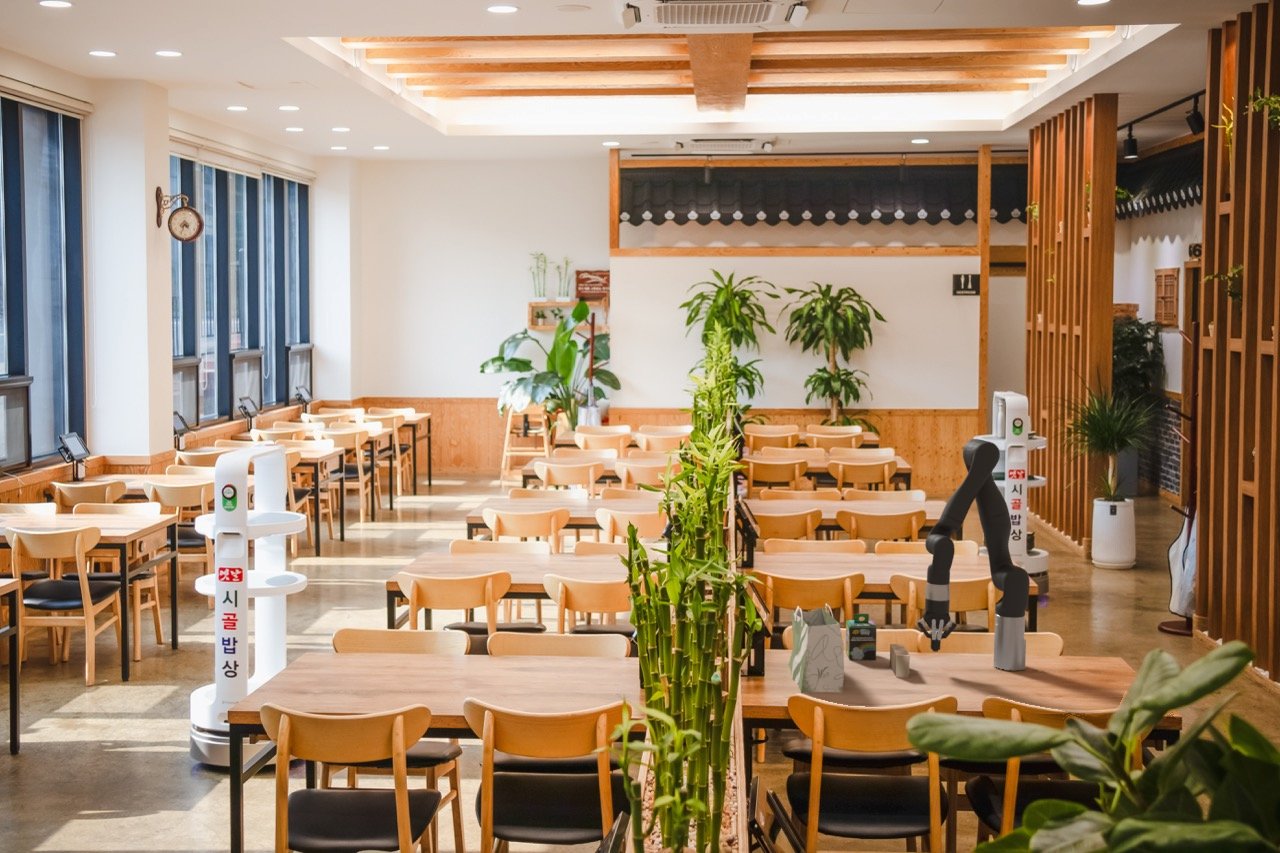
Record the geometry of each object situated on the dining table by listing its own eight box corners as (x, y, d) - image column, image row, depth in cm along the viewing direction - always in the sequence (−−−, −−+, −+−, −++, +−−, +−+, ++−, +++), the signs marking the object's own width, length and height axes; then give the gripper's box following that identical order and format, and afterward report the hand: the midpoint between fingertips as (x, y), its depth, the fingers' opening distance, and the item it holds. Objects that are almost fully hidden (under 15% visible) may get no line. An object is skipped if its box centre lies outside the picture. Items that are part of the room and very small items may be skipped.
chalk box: (872, 653, 435) (873, 609, 434) (876, 660, 426) (877, 616, 425) (844, 653, 435) (845, 609, 434) (848, 660, 426) (849, 615, 425)
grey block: (909, 677, 406) (902, 665, 420) (909, 655, 406) (902, 644, 419) (896, 677, 406) (889, 665, 420) (896, 655, 406) (890, 644, 420)
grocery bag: (784, 664, 421) (785, 593, 419) (827, 664, 421) (828, 593, 419) (798, 692, 389) (800, 616, 387) (845, 692, 389) (846, 616, 388)
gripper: (918, 599, 407) (916, 653, 408) (961, 600, 407) (958, 654, 408) (914, 594, 415) (912, 647, 416) (956, 595, 414) (953, 648, 415)
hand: (935, 651), depth 412 cm, fingers closed
